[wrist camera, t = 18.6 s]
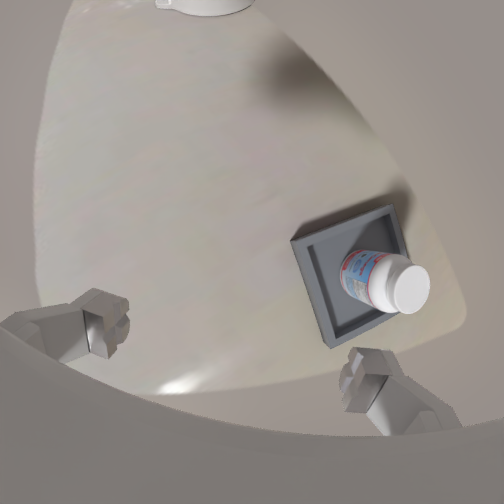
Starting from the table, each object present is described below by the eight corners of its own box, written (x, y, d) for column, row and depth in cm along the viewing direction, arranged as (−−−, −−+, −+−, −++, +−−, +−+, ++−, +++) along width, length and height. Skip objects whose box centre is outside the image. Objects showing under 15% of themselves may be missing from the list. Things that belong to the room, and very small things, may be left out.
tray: (290, 241, 33) (295, 241, 31) (382, 205, 35) (392, 203, 32) (323, 342, 35) (330, 349, 32) (406, 298, 36) (416, 302, 34)
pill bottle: (369, 241, 34) (426, 244, 22) (384, 283, 34) (440, 299, 23) (330, 263, 33) (380, 276, 22) (347, 306, 34) (398, 333, 23)
